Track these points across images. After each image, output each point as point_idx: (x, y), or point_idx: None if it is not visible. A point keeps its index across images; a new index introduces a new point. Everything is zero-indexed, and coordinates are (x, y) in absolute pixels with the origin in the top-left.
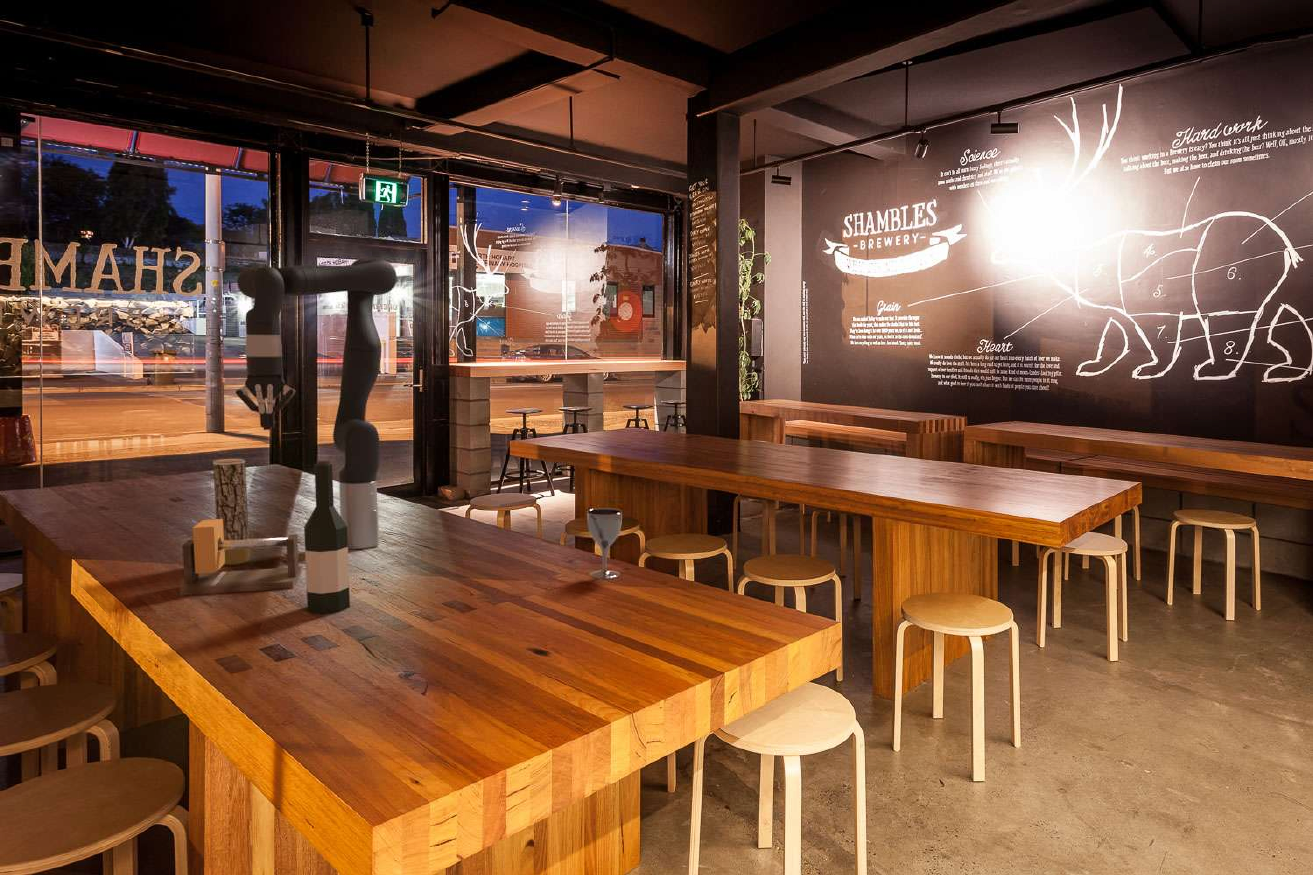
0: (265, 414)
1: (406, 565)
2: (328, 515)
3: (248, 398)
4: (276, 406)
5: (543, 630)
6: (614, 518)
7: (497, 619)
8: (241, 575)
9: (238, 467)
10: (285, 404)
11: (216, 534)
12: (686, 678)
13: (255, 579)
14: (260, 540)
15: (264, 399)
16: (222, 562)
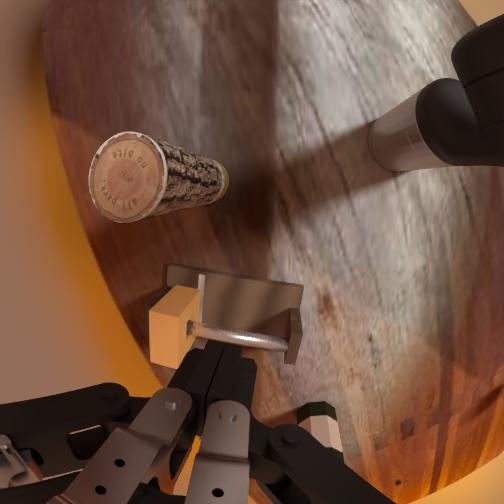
0: (200, 434)
1: (428, 294)
2: None
3: (60, 462)
4: (263, 488)
5: (419, 464)
6: None
7: (411, 451)
8: (226, 301)
9: (157, 210)
10: (335, 466)
11: (182, 350)
12: (422, 496)
13: (245, 327)
14: (246, 345)
15: (152, 475)
16: (198, 305)
